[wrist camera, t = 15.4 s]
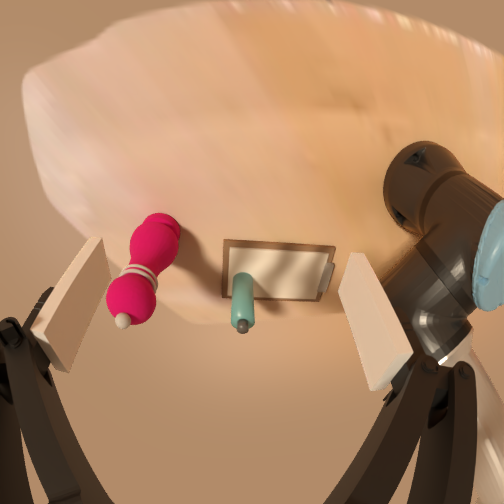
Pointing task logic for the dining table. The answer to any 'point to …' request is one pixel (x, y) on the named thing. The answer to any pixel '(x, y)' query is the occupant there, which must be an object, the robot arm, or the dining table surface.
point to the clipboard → (278, 269)
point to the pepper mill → (143, 270)
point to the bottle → (242, 302)
